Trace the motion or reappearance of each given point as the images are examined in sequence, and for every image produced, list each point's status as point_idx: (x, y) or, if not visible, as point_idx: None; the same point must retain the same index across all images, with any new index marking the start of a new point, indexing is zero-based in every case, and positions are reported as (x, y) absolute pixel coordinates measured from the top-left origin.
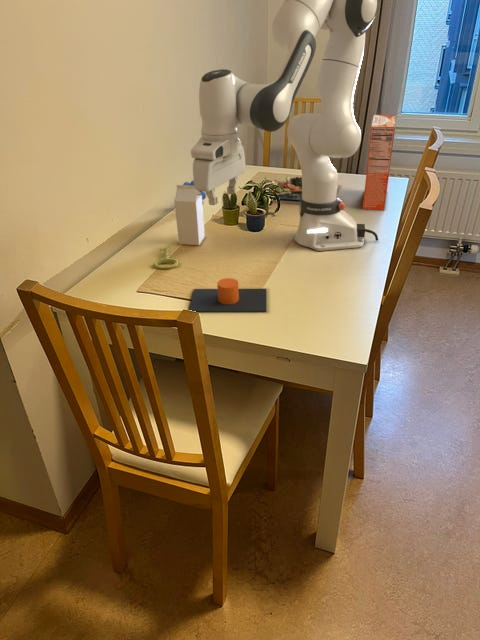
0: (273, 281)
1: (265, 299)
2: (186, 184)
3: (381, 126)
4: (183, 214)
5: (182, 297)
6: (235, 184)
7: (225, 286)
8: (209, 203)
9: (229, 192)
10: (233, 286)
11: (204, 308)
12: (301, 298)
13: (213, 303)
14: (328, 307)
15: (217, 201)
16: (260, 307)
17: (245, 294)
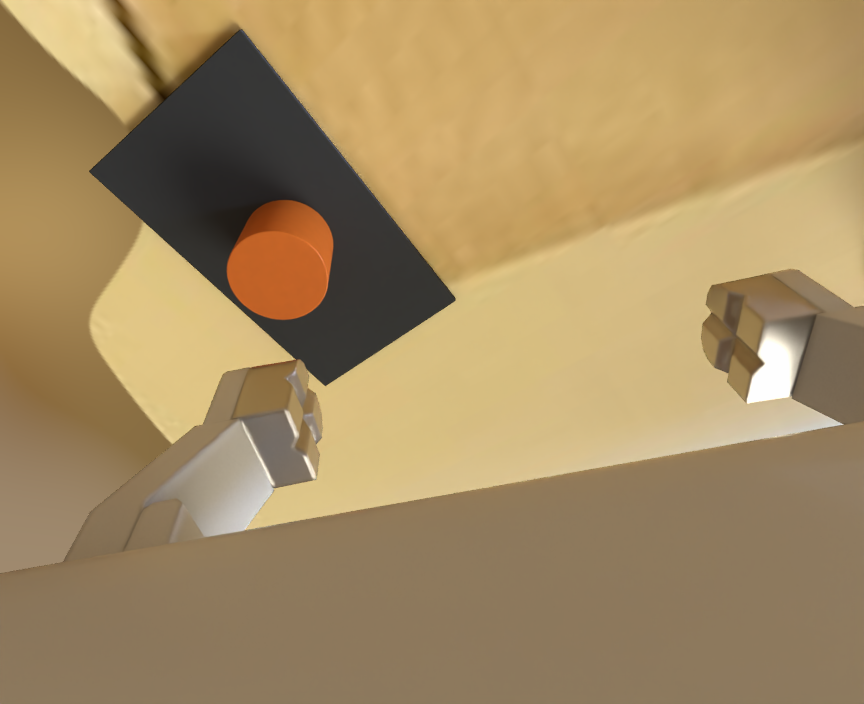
0: (531, 278)
1: (384, 344)
2: None
3: None
4: None
5: (143, 30)
6: (847, 413)
7: (245, 292)
8: (226, 381)
9: (717, 318)
10: (271, 316)
11: (159, 213)
12: (469, 409)
13: (218, 215)
14: (464, 478)
15: (317, 438)
16: (328, 362)
17: (368, 268)
